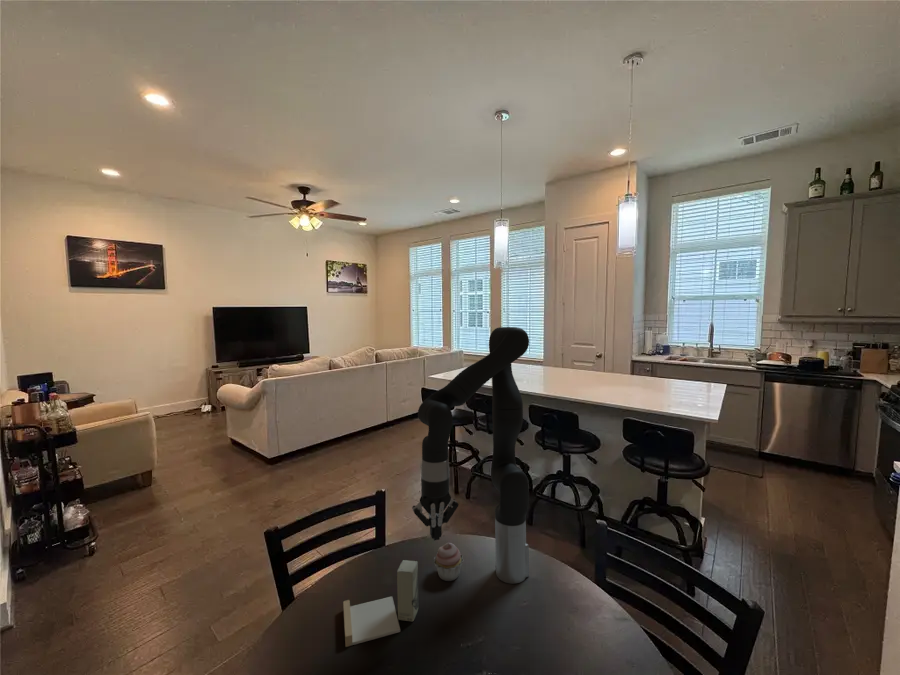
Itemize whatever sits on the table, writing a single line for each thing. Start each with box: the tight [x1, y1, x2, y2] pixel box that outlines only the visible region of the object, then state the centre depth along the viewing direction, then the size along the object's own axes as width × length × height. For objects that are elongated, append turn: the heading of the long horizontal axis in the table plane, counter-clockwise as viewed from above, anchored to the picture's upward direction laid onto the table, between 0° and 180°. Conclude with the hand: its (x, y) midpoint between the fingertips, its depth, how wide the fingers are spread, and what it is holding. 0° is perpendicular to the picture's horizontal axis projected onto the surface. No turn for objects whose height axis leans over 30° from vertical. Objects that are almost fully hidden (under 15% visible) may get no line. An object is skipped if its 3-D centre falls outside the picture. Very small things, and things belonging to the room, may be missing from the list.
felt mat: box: [342, 595, 401, 648], centre depth 95 cm, size 13×12×2 cm
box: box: [396, 559, 420, 622], centre depth 97 cm, size 5×4×13 cm
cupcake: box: [433, 542, 465, 582], centre depth 112 cm, size 9×9×10 cm
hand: (435, 538), depth 99 cm, fingers closed
